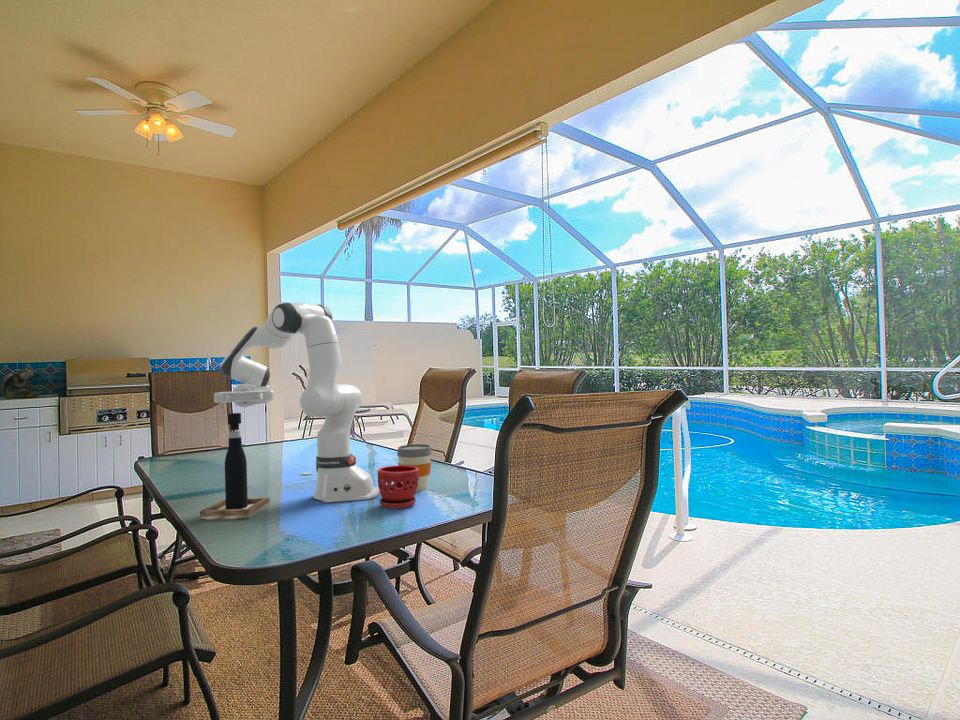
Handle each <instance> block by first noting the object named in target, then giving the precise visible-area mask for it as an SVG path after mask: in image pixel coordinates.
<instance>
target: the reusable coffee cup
mask: <svg viewBox="0 0 960 720" xmlns="http://www.w3.org/2000/svg"><path fill="white" fill-rule="evenodd" d="M432 454H433V453H432V447H431V445H430V444H422V443H421V444H420V443H419V444H418V443H416V444H405V445H401V446H398V447H397V454H396V455H397V458H398V463H397V464H398V465H397V466H414V467H417V468H418V469H419V479H418V487H417V491H416V492H418V491H423V490H427V489H428V485H429V477H430V474H431V467H432V461H431V455H432ZM401 483H402V482H401ZM402 484H403V483H402Z"/></svg>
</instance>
